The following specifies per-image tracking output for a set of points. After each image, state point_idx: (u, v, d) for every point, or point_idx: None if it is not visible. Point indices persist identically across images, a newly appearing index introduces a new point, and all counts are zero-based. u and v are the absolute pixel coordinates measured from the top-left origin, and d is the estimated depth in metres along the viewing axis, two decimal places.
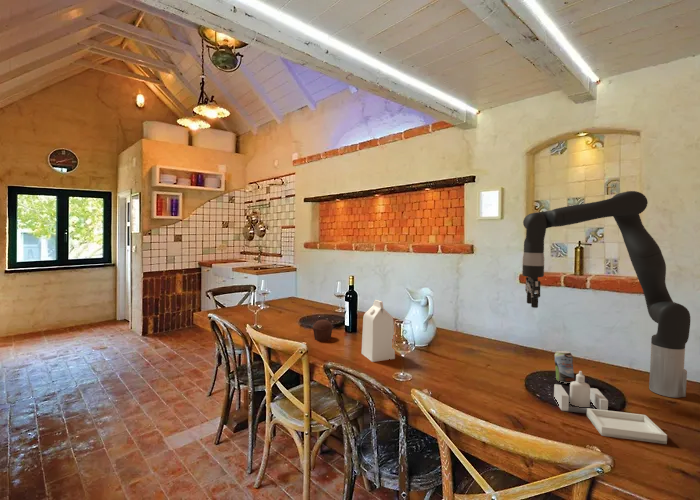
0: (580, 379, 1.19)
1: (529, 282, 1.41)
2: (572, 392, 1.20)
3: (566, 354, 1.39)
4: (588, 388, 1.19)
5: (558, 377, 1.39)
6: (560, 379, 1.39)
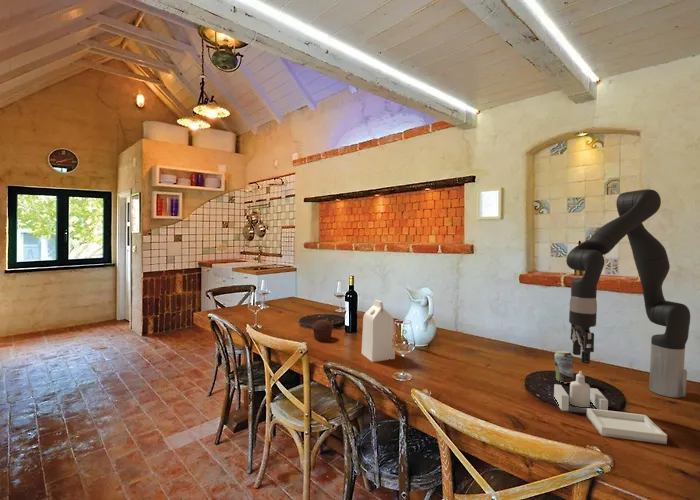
0: (580, 379, 1.19)
1: (578, 332, 1.18)
2: (572, 392, 1.20)
3: (566, 354, 1.39)
4: (588, 388, 1.19)
5: (558, 377, 1.39)
6: (560, 379, 1.39)
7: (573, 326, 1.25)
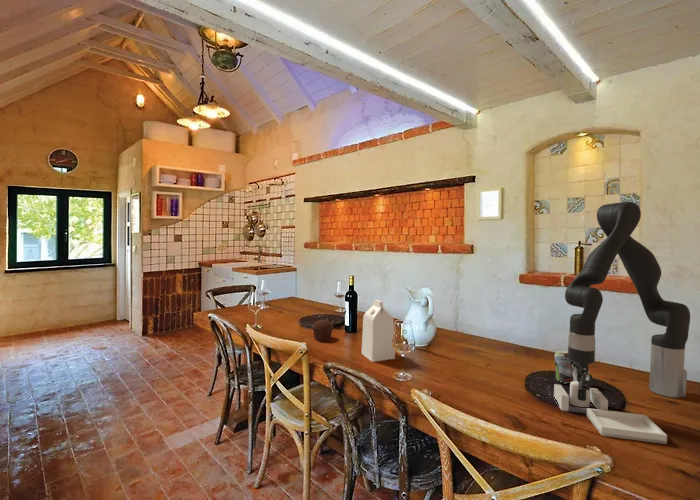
0: None
1: (577, 369, 1.19)
2: (572, 392, 1.20)
3: (566, 354, 1.39)
4: None
5: (558, 377, 1.39)
6: (560, 379, 1.39)
7: (572, 364, 1.26)
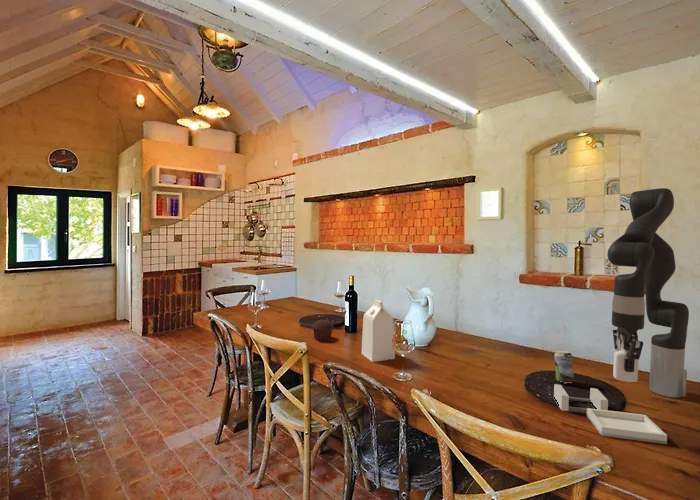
0: None
1: (623, 336, 1.05)
2: (617, 363, 1.06)
3: (566, 354, 1.39)
4: None
5: (558, 377, 1.39)
6: (560, 379, 1.39)
7: (615, 332, 1.11)
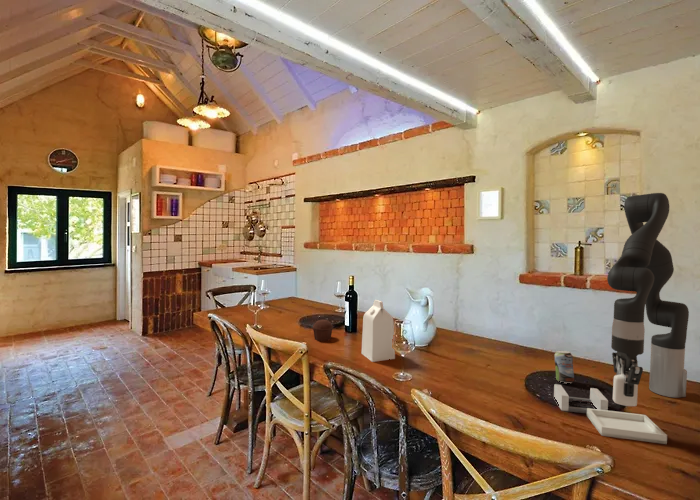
0: None
1: (623, 361, 1.05)
2: (617, 387, 1.06)
3: (566, 354, 1.39)
4: None
5: (558, 377, 1.39)
6: (560, 379, 1.39)
7: (615, 355, 1.12)
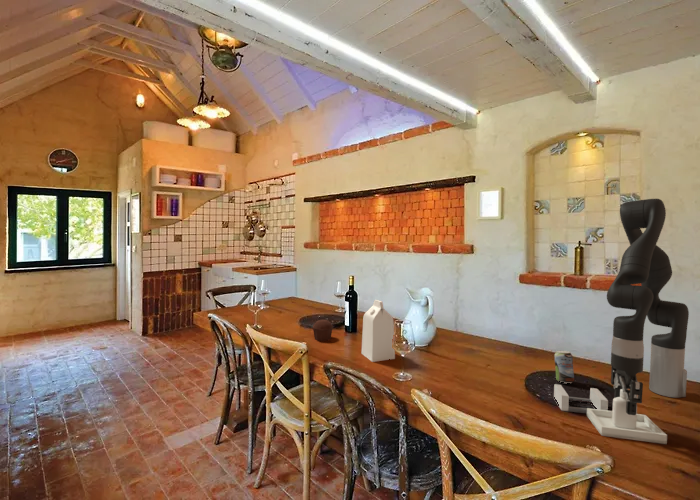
0: (625, 395, 1.06)
1: (622, 378, 1.05)
2: (616, 410, 1.07)
3: (566, 354, 1.39)
4: None
5: (558, 377, 1.39)
6: (560, 379, 1.39)
7: (614, 369, 1.12)
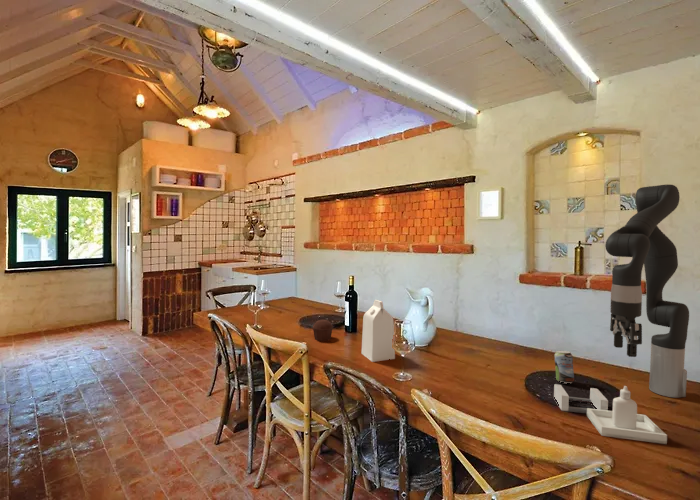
0: (625, 395, 1.06)
1: (622, 323, 1.09)
2: (616, 410, 1.07)
3: (566, 354, 1.39)
4: (635, 405, 1.05)
5: (558, 377, 1.39)
6: (560, 379, 1.39)
7: (613, 317, 1.16)
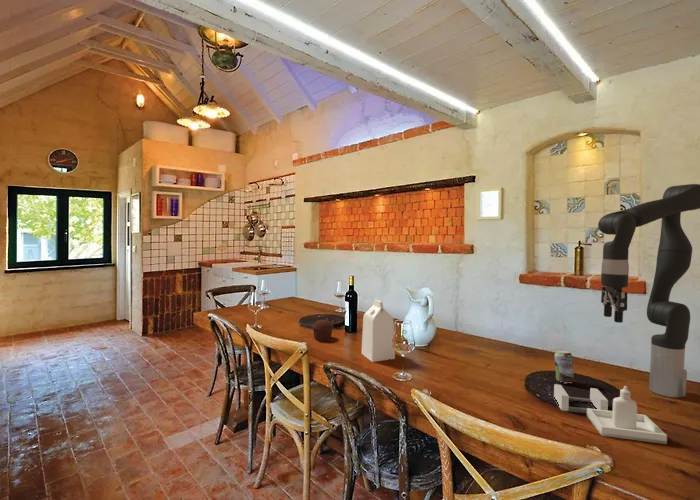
0: (625, 395, 1.06)
1: (610, 293, 1.23)
2: (616, 410, 1.07)
3: (566, 354, 1.39)
4: (635, 406, 1.05)
5: (558, 377, 1.39)
6: (560, 379, 1.39)
7: (604, 289, 1.30)
